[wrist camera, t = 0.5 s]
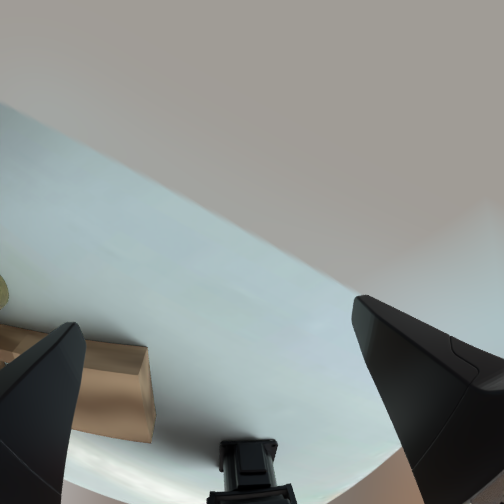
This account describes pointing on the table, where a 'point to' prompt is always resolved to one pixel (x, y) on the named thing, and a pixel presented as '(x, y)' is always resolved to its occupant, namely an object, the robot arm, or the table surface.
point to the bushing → (3, 293)
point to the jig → (102, 386)
